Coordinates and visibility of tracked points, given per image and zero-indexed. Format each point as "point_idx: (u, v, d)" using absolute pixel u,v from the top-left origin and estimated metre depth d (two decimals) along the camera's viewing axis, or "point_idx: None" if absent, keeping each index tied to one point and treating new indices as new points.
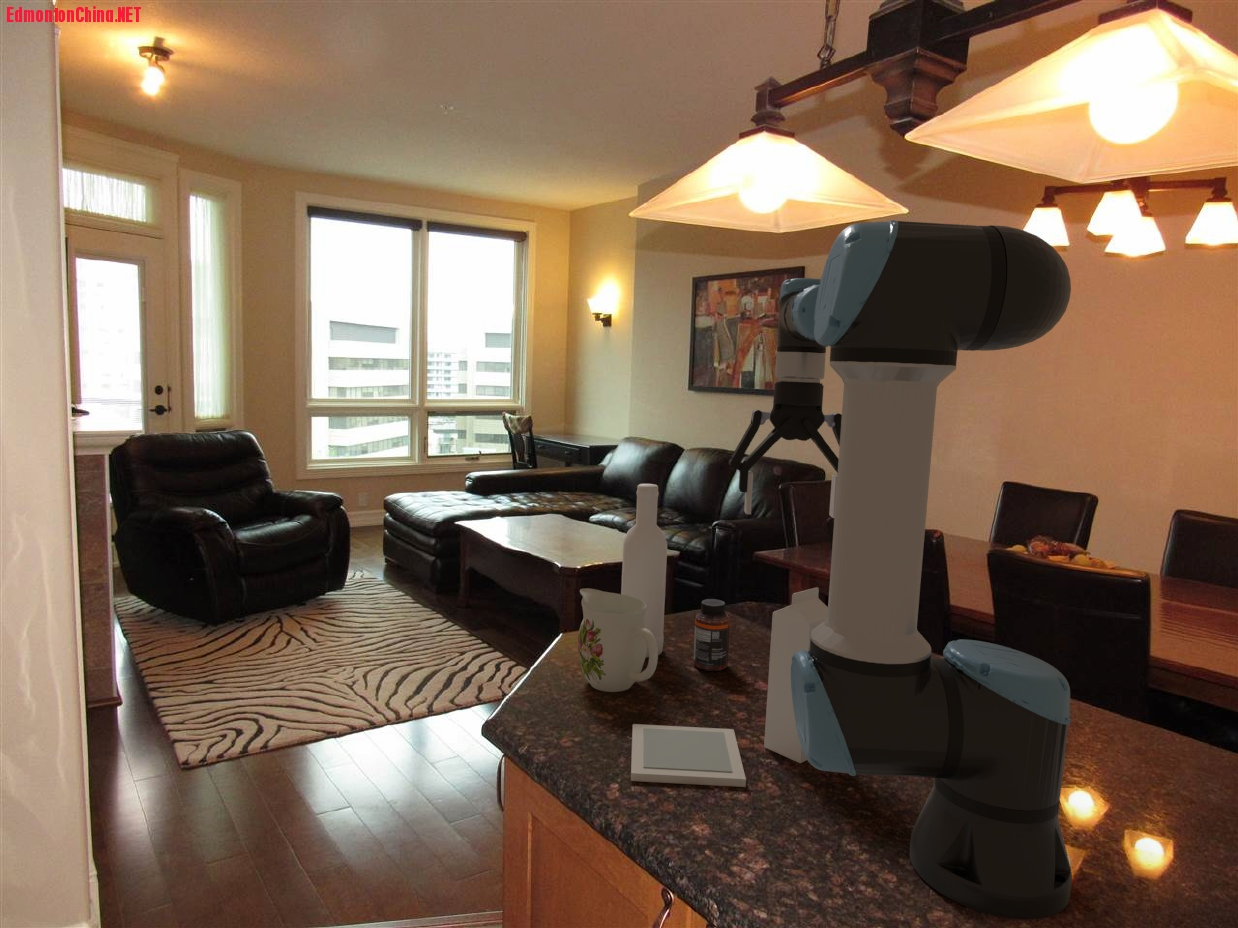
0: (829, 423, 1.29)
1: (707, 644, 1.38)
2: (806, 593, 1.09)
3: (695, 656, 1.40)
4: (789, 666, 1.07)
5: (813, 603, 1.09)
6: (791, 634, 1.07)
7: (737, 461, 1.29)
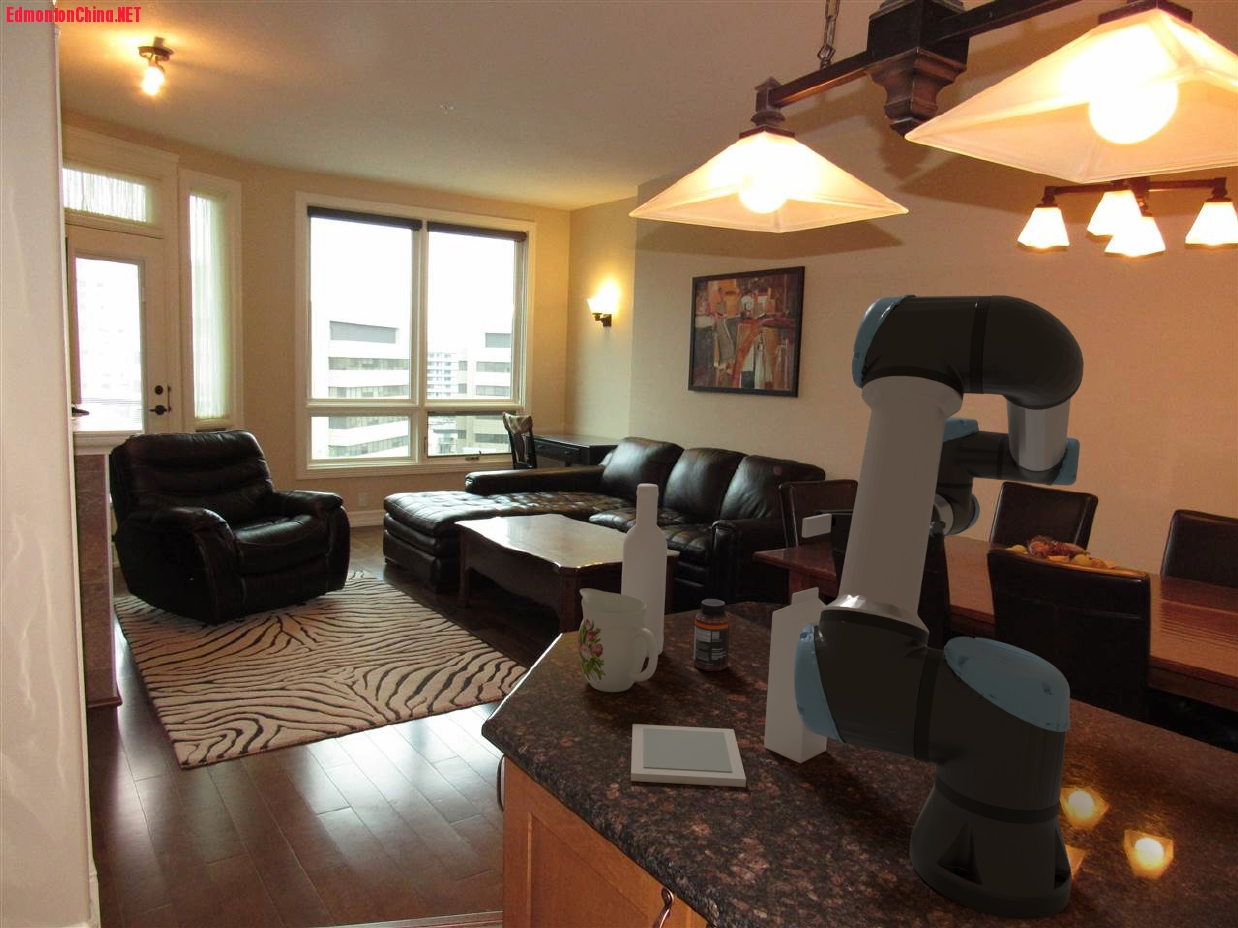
0: (930, 526, 1.21)
1: (706, 644, 1.38)
2: (806, 593, 1.09)
3: (695, 656, 1.40)
4: (789, 666, 1.07)
5: (813, 603, 1.09)
6: (791, 634, 1.07)
7: (823, 511, 1.26)
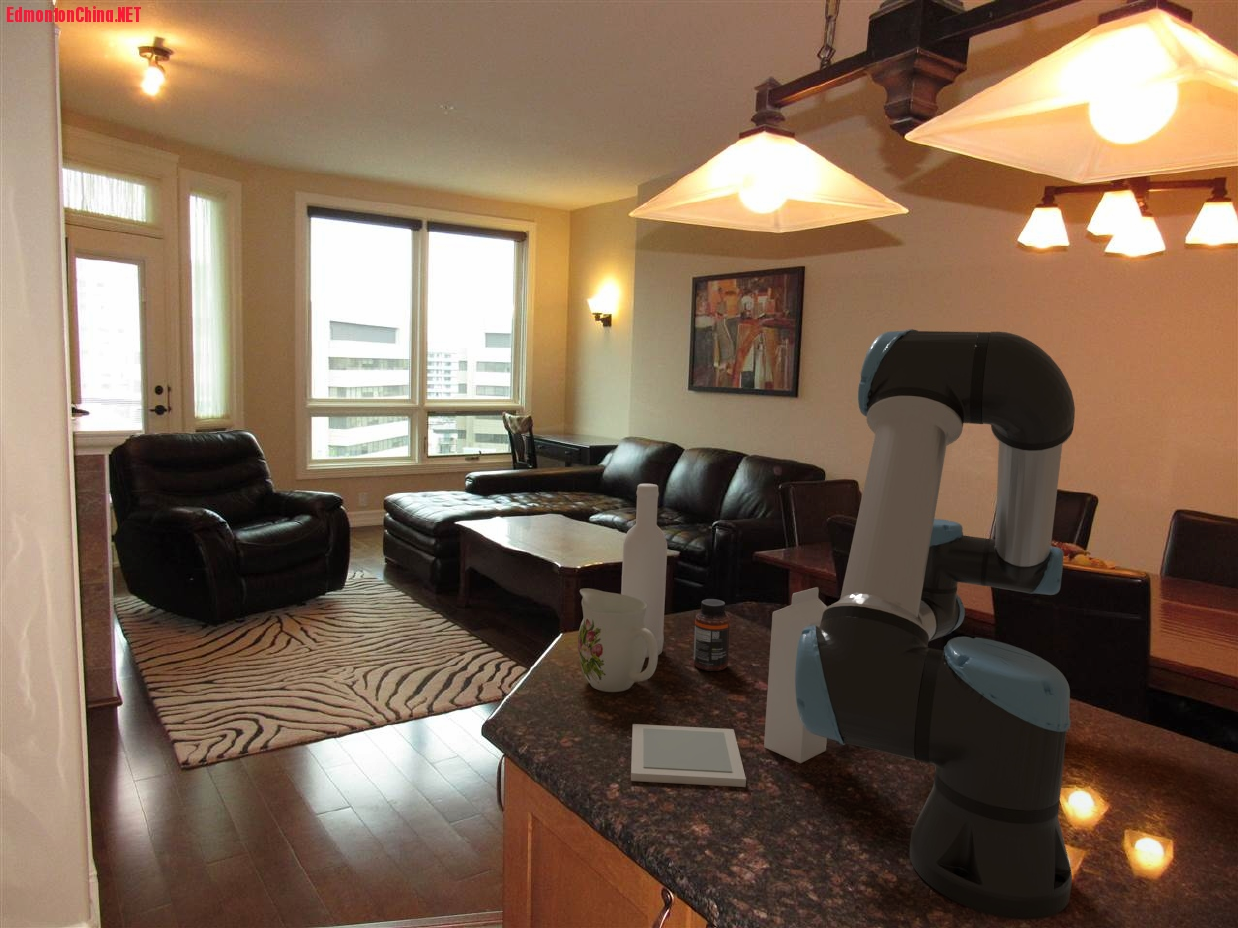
0: None
1: (707, 644, 1.38)
2: (806, 593, 1.09)
3: (695, 656, 1.40)
4: (789, 666, 1.07)
5: (813, 603, 1.09)
6: (791, 634, 1.07)
7: None
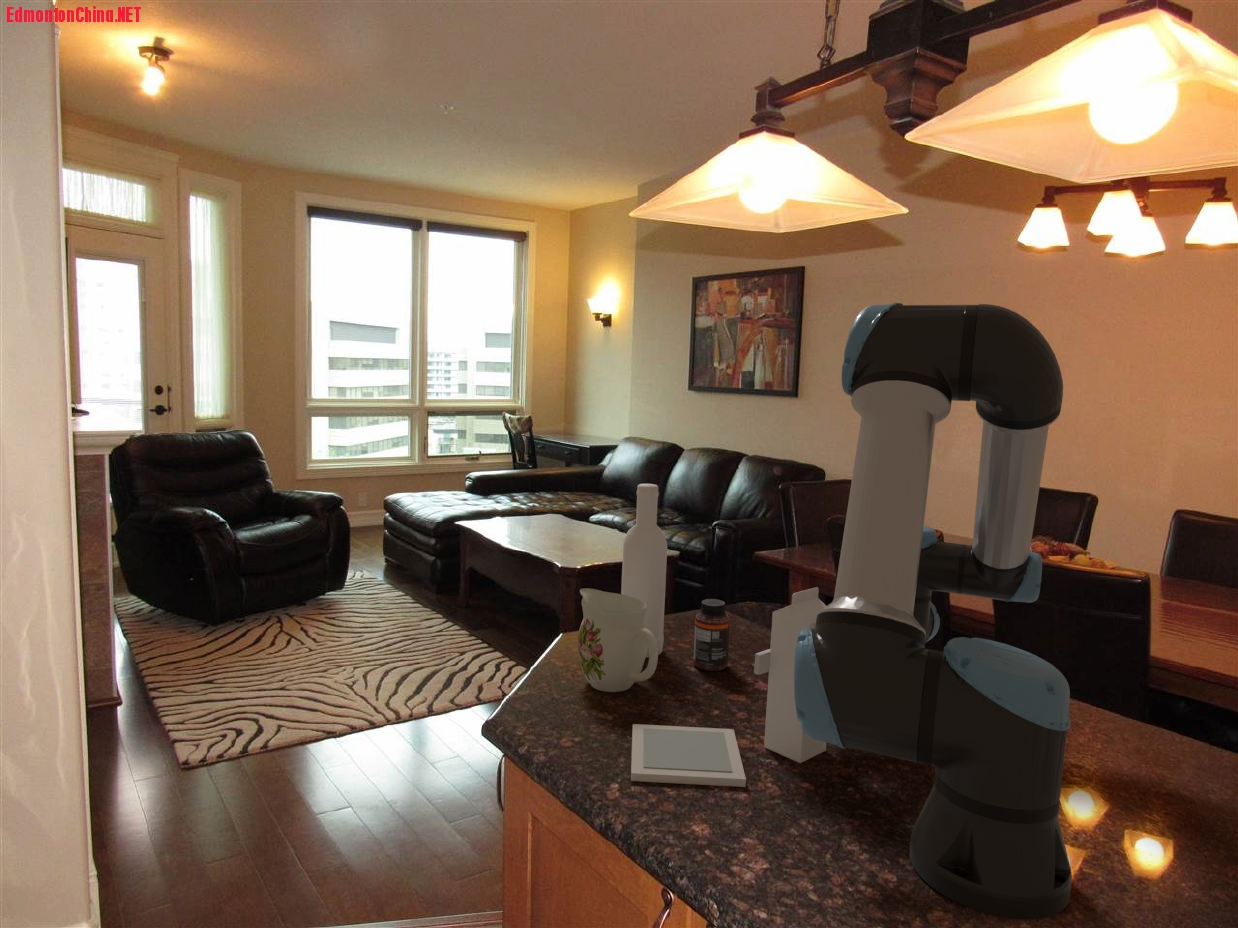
0: None
1: (707, 644, 1.38)
2: (806, 593, 1.09)
3: (695, 656, 1.40)
4: (789, 666, 1.07)
5: (813, 603, 1.09)
6: (791, 634, 1.07)
7: None
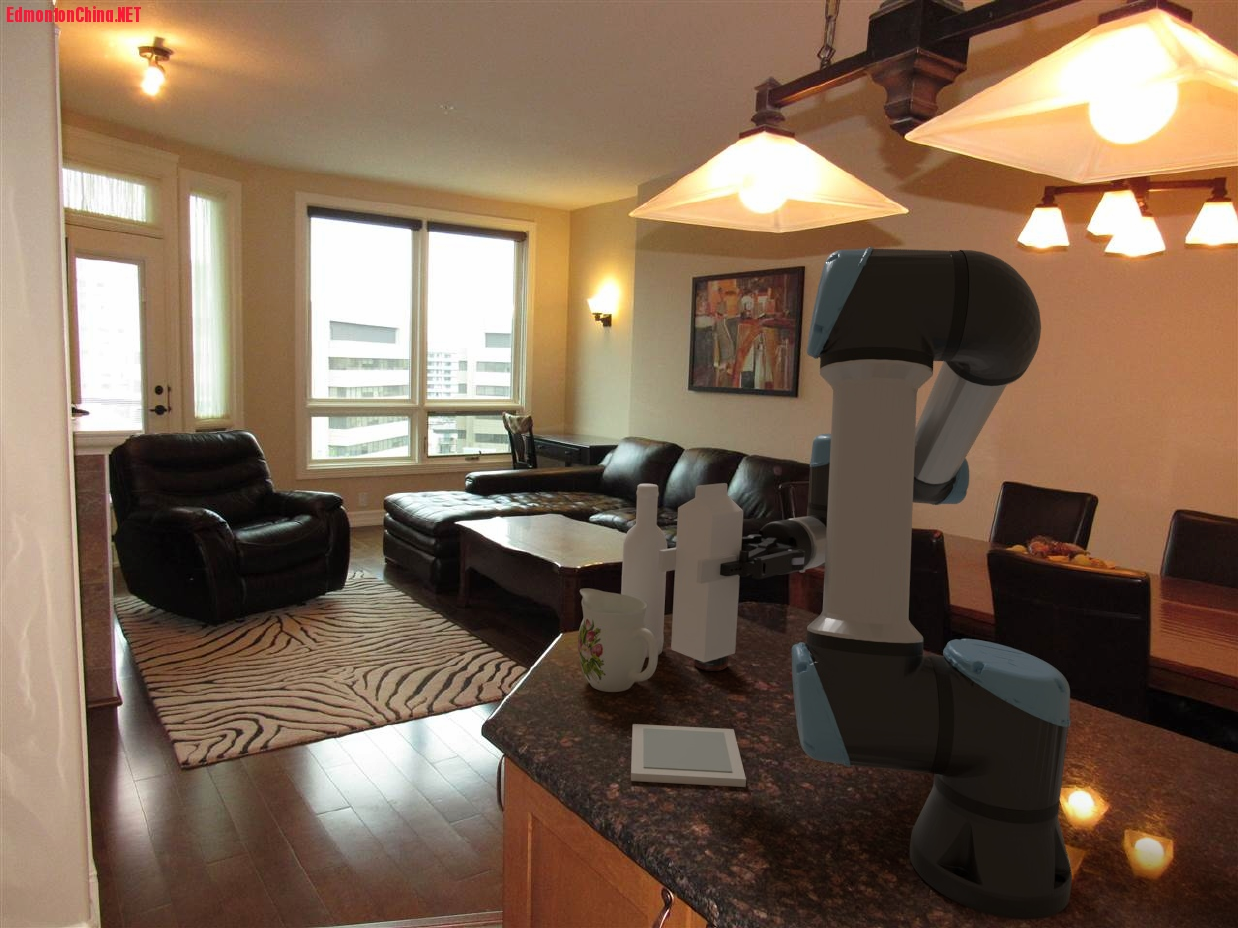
0: None
1: None
2: (712, 487, 1.05)
3: None
4: (693, 562, 1.04)
5: (720, 498, 1.05)
6: (695, 528, 1.03)
7: None
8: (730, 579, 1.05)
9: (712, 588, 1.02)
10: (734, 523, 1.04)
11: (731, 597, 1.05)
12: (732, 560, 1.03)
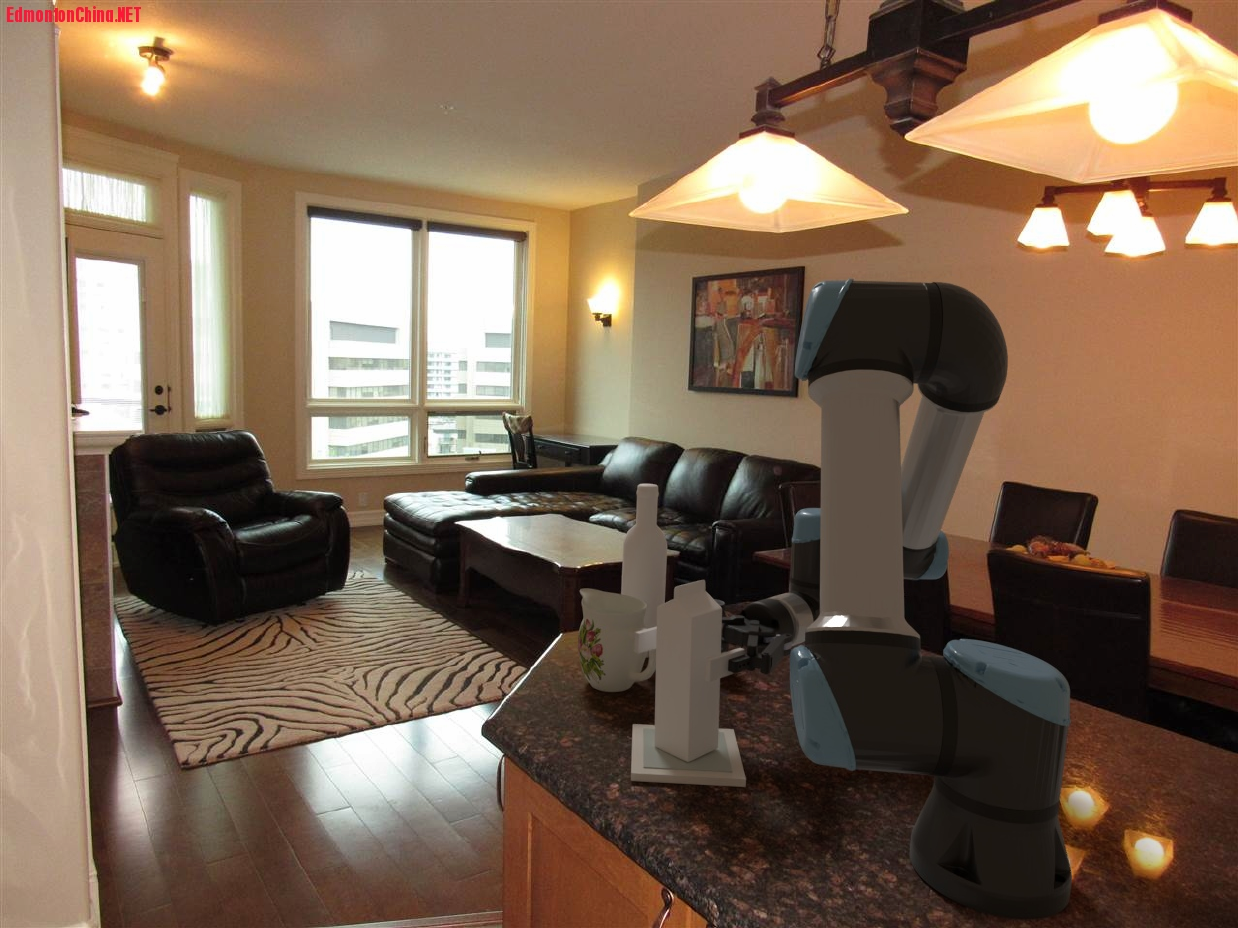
0: None
1: None
2: (690, 586, 1.05)
3: None
4: (674, 662, 1.04)
5: (698, 596, 1.05)
6: (675, 628, 1.03)
7: None
8: None
9: (694, 688, 1.03)
10: (713, 622, 1.04)
11: (712, 694, 1.05)
12: (740, 654, 1.02)
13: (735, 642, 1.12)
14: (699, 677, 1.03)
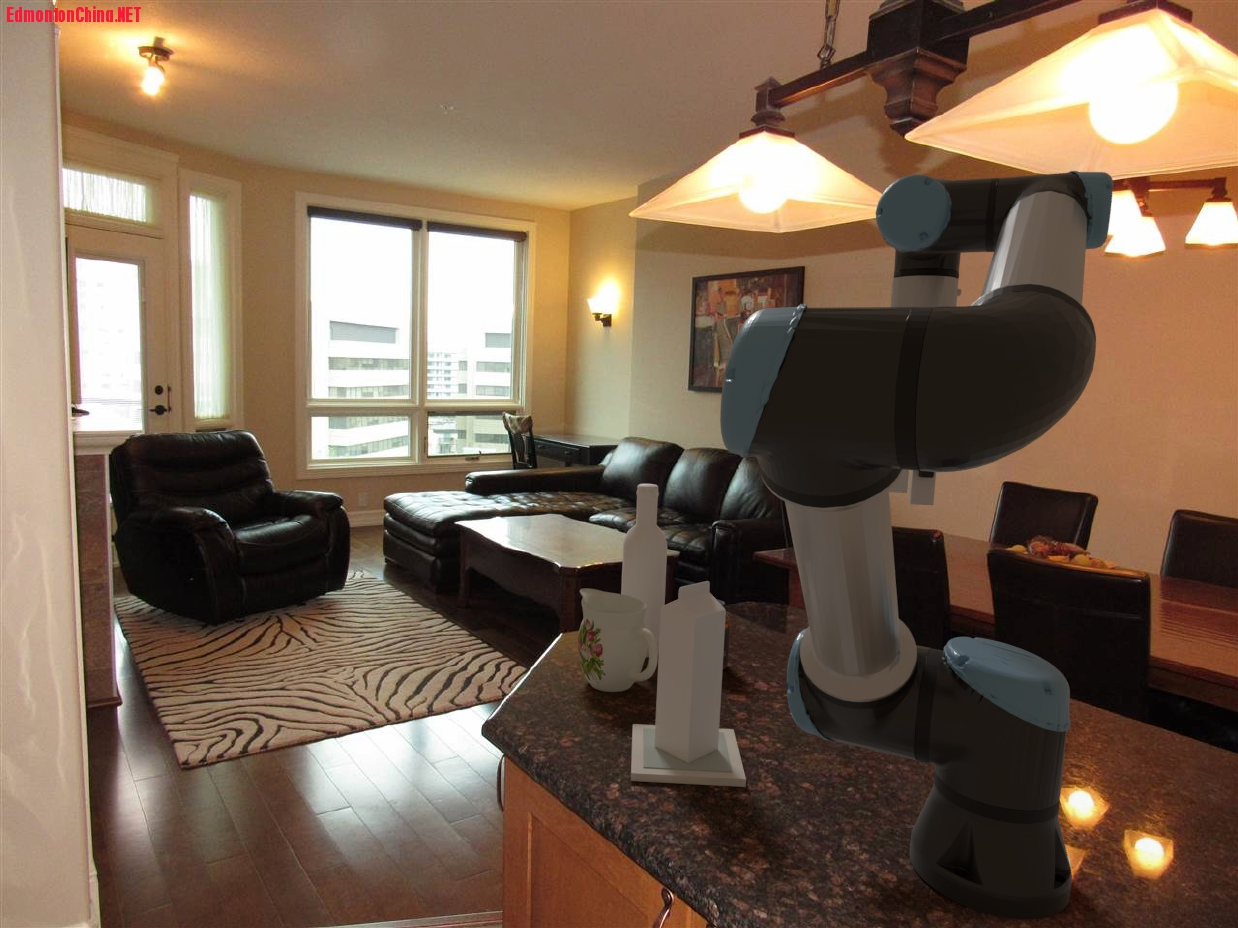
0: None
1: None
2: (695, 587, 1.05)
3: None
4: (676, 662, 1.04)
5: (703, 597, 1.05)
6: (678, 629, 1.03)
7: None
8: (713, 678, 1.05)
9: (696, 689, 1.03)
10: (716, 623, 1.04)
11: (714, 695, 1.05)
12: None
13: None
14: (701, 678, 1.03)
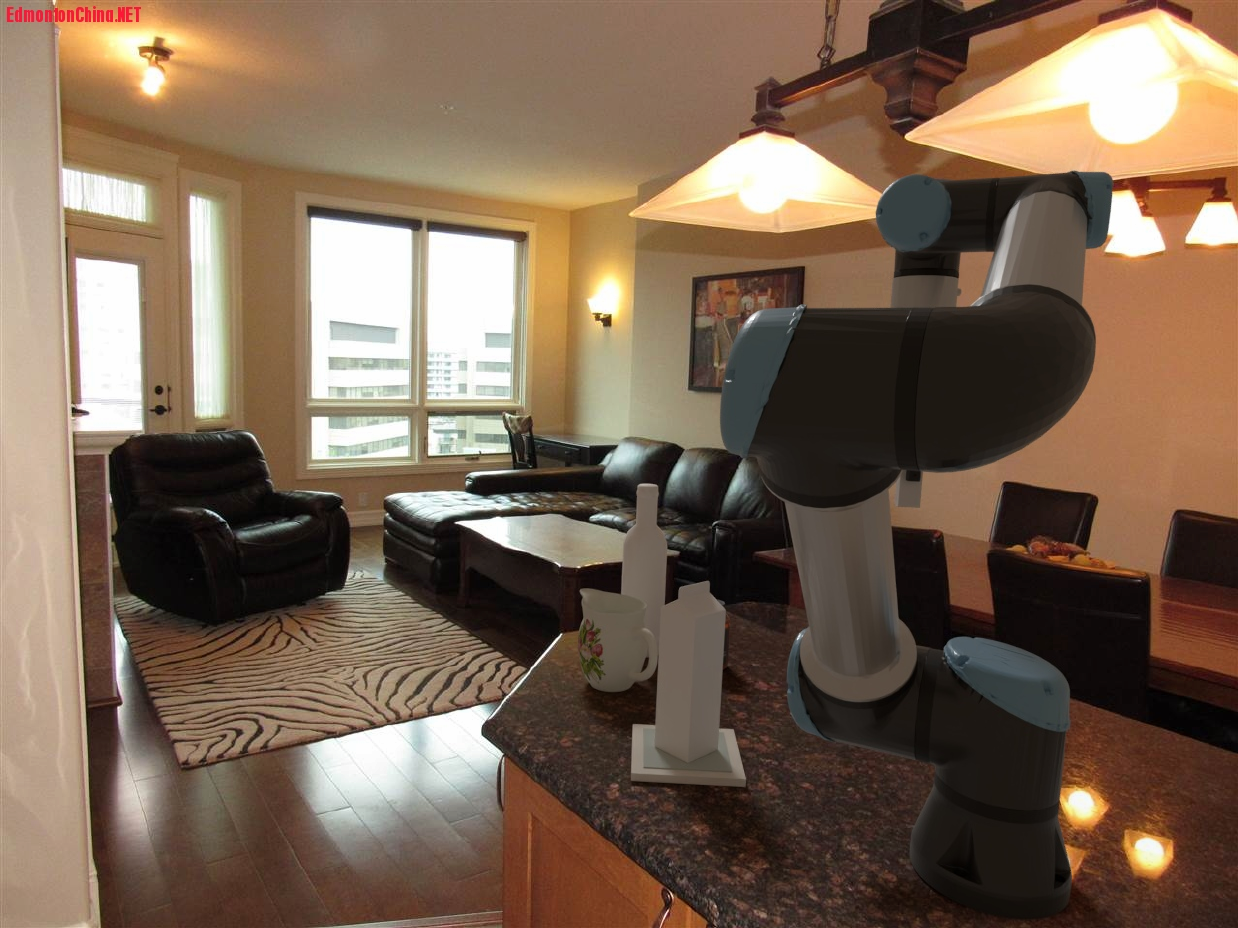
0: None
1: None
2: (695, 587, 1.05)
3: None
4: (676, 662, 1.04)
5: (703, 597, 1.05)
6: (678, 629, 1.03)
7: None
8: (713, 678, 1.05)
9: (696, 689, 1.03)
10: (716, 623, 1.04)
11: (714, 695, 1.05)
12: None
13: None
14: (701, 678, 1.03)
